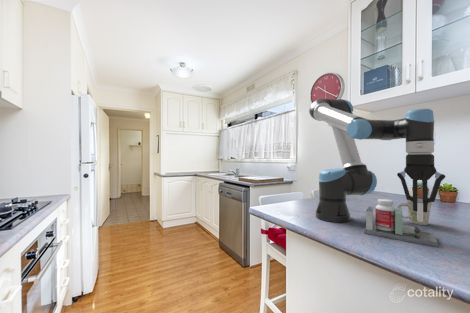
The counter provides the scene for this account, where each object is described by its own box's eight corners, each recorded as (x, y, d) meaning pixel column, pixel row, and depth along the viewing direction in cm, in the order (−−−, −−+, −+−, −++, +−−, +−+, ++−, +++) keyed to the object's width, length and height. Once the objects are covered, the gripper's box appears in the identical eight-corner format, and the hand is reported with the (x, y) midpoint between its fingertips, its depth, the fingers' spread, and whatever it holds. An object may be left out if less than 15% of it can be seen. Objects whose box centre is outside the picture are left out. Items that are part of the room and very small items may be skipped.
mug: (436, 226, 87) (436, 202, 87) (402, 224, 90) (402, 201, 90) (423, 220, 95) (423, 198, 95) (392, 219, 98) (391, 197, 98)
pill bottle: (395, 233, 76) (394, 202, 76) (374, 229, 80) (374, 200, 80) (396, 228, 80) (395, 199, 80) (376, 225, 84) (376, 197, 84)
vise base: (364, 233, 80) (364, 211, 80) (367, 226, 88) (367, 206, 88) (437, 246, 67) (436, 220, 67) (433, 237, 75) (433, 213, 75)
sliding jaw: (395, 233, 74) (395, 212, 74) (395, 227, 81) (395, 207, 82) (421, 238, 70) (420, 215, 70) (419, 231, 77) (419, 210, 77)
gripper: (395, 154, 75) (396, 220, 75) (447, 153, 67) (448, 227, 67) (396, 154, 81) (397, 215, 81) (443, 153, 73) (444, 221, 73)
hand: (420, 220), depth 74 cm, fingers closed
